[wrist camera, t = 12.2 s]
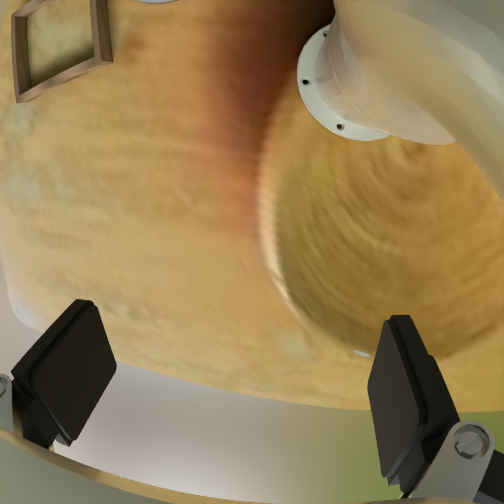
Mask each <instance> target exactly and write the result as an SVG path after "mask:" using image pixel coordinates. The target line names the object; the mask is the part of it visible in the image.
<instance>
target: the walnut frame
mask: <svg viewBox="0 0 504 504" xmlns="http://www.w3.org/2000/svg"><path fill="white" fill-rule="evenodd" d="M52 1H53V0H31V1H29V2H28V3H26V4H25V5H24V6H22V7H21V8H20V9H18V10H17V11H16V12H14V13H13V14H12V15H11V40H12V63H13V76H14V87H15V96H16V103H24V102H29V101H31V100H33V99H35V98H37V97H39V96H40V95H42V94H44V93H46V92H48V91H50V90H52V89H54V88H56V87H58V86H60V85H62V84H64V83H66V82H68V81H70V80H73V79H75V78H77V77H79V76H81V75H84V74H86V73H88V72H91V71H93V70H95V69H98V68H100V67H103V66H105V65H108V64H110V63H113V59H112V51H111V43H110V34H109V24H108V12H107V0H90V13H91V26H92V37H93V47H94V56H95V57H93V58H91V59H89V60H86V61H84V62H82V63H80V64H78V65H76V66H73V67H71V68H69V69H67V70H65V71H63V72H61V73H59V74H57V75H55V76H53V77H52V78H50V79H48V80H46V81H44V82H42V83H41V84H39V85H37V86H35V87H33V88H32V89H31V84H30V74H29V63H28V47H27V17H29V16H30V15H32V14H33V13H35V12H36V11H38V10H39V9H41V8H42V7H44V6H45V5H47V4H48V3H50V2H52Z"/></svg>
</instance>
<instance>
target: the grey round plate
mask: <svg viewBox="0 0 504 504" xmlns="http://www.w3.org/2000/svg"><path fill="white" fill-rule="evenodd" d="M137 1H140V2H144V3H152V4H160V3H169V2H173V1H178V0H137Z"/></svg>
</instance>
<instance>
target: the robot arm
mask: <svg viewBox="0 0 504 504" xmlns="http://www.w3.org/2000/svg"><path fill="white" fill-rule="evenodd" d="M333 2H334V6H335V10H336V14H335V16H334V19H333V21H332V23H331V24H330V25H328V26H326V27H324V28H322V29H320V30H319V31H317V32H316V33H315V34H314V35H313V36H312V37H311V38H310V39H309V40H308V42H307V43H306V44H305V46H304V47H303V50H302V52H301V54H300V56H299V60H298V66H297V83H298V88H299V91H300V95H301V98H302V100H303V101H304V103H305V105H306V107H307V109H308V110H309V111H310V113H311V114H312V115H313V117H314V118H315V119H316V120H317V121H318V122H320V123H321V124H322V125H323V126H324V127H326V128H327V129H329V130H330V131H332V132H334V133H336V134H338V135H340V136H343V137H346V138H349V139H354V140H361V141H371V140H378V139H382V138H386V137H388V136H390V135H393V136H397V137H400V138H403V139H407V140H410V141H414V142H418V143H423V144H431V145H441V144H449V143H454V142H458V143H459V144H460V145H461V147H462V148H463V149H464V150H465V151H466V152H467V153H468V154H469V156H470V157H471V158H472V159H473V161H474V162H475V163H476V164H477V166H478V167H479V168H480V169H481V171H482V172H483V173H484V175H485V176H486V178H487V179H488V180H489V182H490V183H491V185H492V186H493V187H494V189H495V190H496V192H497V193H498V195H499V197H500V198H501V200H502V201H503V203H504V0H333ZM324 34H327V35H326V37H324ZM303 80H307V81H308V84H306V85H305V84H303ZM338 124H341V129H338V128H337V125H338ZM116 367H117V365H116V361H115V358H114V355H113V353H112V350H111V347H110V344H109V341H108V338H107V335H106V332H105V329H104V326H103V323H102V320H101V317H100V314H99V310H98V308H97V306H95V305H94V303H93V302H92V301H90V300H82V299H76V300H75V301H74V302H73V303H72V304H71V305H70V306H69V307H68V308H67V309H66V310H65V311H64V312H63V313H62V314H61V315H60V316H59V318H58V319H57V320H56V321H55V322H54V323H53V324H52V325H51V326H50V327H49V328H48V329H47V330H46V332H45V333H44V334H43V335H42V336H41V337H40V338H39V339H38V340H37V342H36V343H35V344H34V345H33V346H32V347H31V348H30V349H29V350H28V352H27V353H26V354H25V355H24V356H23V357H22V359H21V360H20V361H19V362H18V363H17V365H16V366H15V367H14V368H13V369H12V370H11V373H12V375H13V376H14V379H13V381H11V379H10V378H9V377H8V376H7V375H5V374H0V504H270V503H254V502H244V501H235V500H226V499H219V498H212V497H206V496H199V495H194V494H188V493H183V492H177V491H173V490H168V489H164V488H160V487H156V486H152V485H148V484H143V483H140V482H136V481H133V480H129V479H126V478H123V477H119V476H116V475H113V474H110V473H107V472H104V471H101V470H98V469H95V468H92V467H90V466H87V465H84V464H82V463H79V462H76V461H74V460H71V459H69V458H66V457H64V456H62V455H59V454H57V453H55V450H54V445H53V442H54V440H55V439H56V441H57V442H59V443H61V444H63V445H66V446H68V447H70V445H71V443H72V441H73V440H76V439H77V438H78V436H79V435H80V433H81V431H82V429H83V427H84V426H85V424H86V422H87V420H88V418H89V417H90V415H91V413H92V411H93V409H94V408H95V406H96V404H97V403H98V401H99V399H100V398H101V396H102V394H103V392H104V391H105V389H106V387H107V386H108V384H109V382H110V380H111V379H112V377H113V375H114V374H115V372H116ZM368 395H369V400H370V406H371V411H372V417H373V422H374V428H375V434H376V440H377V446H378V452H379V459H380V466H381V473H382V476H383V477H387V478H388V485H395V484H400V490H401V491H402V492H403V493H402V495H401V496H400V497H399V499H396V500H385V501H372V502H361V503H348V504H504V454H502V453H500V452H498V451H496V450H494V445H495V444H494V437H493V435H492V433H491V431H490V430H489V429H488V428H487V426H485V425H484V424H482V423H480V422H478V421H474V420H464V421H460V419H459V416H458V413H457V411H456V408H455V406H454V403H453V401H452V398H451V396H450V393H449V391H448V388H447V386H446V384H445V381H444V379H443V377H442V374H441V372H440V370H439V367H438V365H437V363H436V361H435V359H434V357H433V356H431V355H428V352H427V350H426V348H425V346H424V344H423V341H422V339H421V337H420V335H419V333H418V331H417V329H416V327H415V325H414V322H413V320H412V318H411V317H410V315H392V316H391V317H390V319H389V320H385V322H384V324H383V328H382V332H381V336H380V340H379V344H378V348H377V352H376V355H375V359H374V363H373V366H372V370H371V373H370V376H369V380H368ZM346 504H347V503H346Z"/></svg>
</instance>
